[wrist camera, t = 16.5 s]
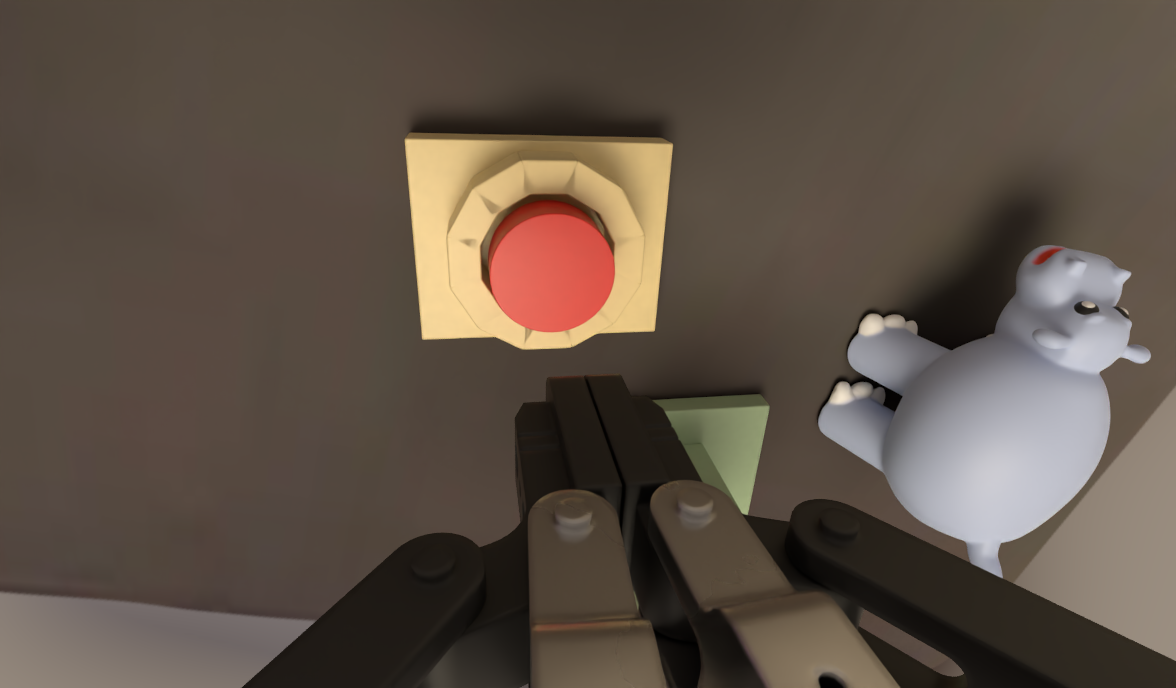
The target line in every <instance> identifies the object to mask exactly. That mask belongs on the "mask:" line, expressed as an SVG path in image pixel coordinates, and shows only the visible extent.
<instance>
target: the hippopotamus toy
mask: <svg viewBox="0 0 1176 688" xmlns="http://www.w3.org/2000/svg"><path fill="white" fill-rule="evenodd" d="M1130 275H1131V272H1130V271H1127V270H1123V269H1120V268H1118V267H1117V266H1116V265H1115V264H1114V263H1113V262H1112V261H1111V260H1110V259H1108V258H1107V257H1104V256H1100V255H1097V254H1093V253H1089V252H1085V251H1079V250H1073V249H1068V248H1065V247H1061V246H1054V245H1045V246H1040V247H1038V248H1036V249H1034V250H1033V251H1031V252H1030V253H1029V254H1028V255H1027V256H1026V257H1025V258H1024V259H1023V261H1022V262H1021V264H1020V266H1019V268H1018V271H1017V276H1016V293H1015V295H1014V296H1013V297H1012V299H1011V300H1010V301H1009V302H1008V303H1007V305H1006V306H1005V308H1004V309H1003V311H1002V312H1001V314H1000V316H999V318H998V321H997V323H996V328H995V332H994V334H990V335H988V336H986V337H985V338H981V339H978V340H975V341H972V342H969V343H966V344H964V345H962V346H960V347H957V348H955V349H953V350H952V351H951V350H948V349H946V348H944V347H942V346H940V345H937V344H935V343H933V342H931V341H929V340H926V339H924V338H922V337H920V336H918V335H917V331H918V327H917V324H916V322H915V321H907V322H905V319H904V318H903V317H902V316H900V315H889V316H886V317H884V318H882V317H881V316H880V315H878V314H869V315H867V316H866V317H865V318H864V319H863V320H862V322H861V323H860V326H859V332H858V334H857V335H856V336H855V337H854V338H853V340H852V341H851V343H850V345H849V348H848V354H847V355H848V361H849V363H850V365H851V366H852V368H853V369H855V370H856V371H857V372H859V373H861V374H862V375H864V376H866V377H868V378H870V379H872V380H874V381H876V382H878V383H879V384H881V385H883V386H885V387H887V388H889V389H891V390H893V391H894V392H896V393H898V394H900V395H902V396H903V397H902V399H901V401H900V403H899V405H898V407H897V409H896V411H895V412H894V411H892V410H890V409H889V408H887V407H885V406H883V403H884V401H885V390H884V389H883V388H882V387H877V388H875V389H873V386H872V385H871V384H870V383H868V382H858V383H855V384H854V385H852V386H851V387H850V385H849V383H847V382H839V383H837V384H836V386H835V388H834V390H833V392H832V394H831V396H830V399H829V401H828V402H827V403H826V405H825V406H824V407H823V409H822V410H821V413H820V415H819V419H818V425H819V428H820V430H821V432H822V433H823V434H824V435H826V436H827V437H828V438H830V439H832V440H833V441H835V442H836V443H838V444H840V445H841V446H843V447H844V448H846V449H847V450H849V451H851V452H852V453H854V454H855V455H857V456H858V457H860V458H862V459H863V460H865V461H866V462H868V463H869V464H871V465H873V466H874V467H876V468H877V469H879V470H880V471H882V472H883V473H884V474H885V476H886V478H887V480H888V483H889V485H890V487H891V489H892V491H893V493H894V494H895V496H896V498H897V499H898V500H899V502H900V503H901V504H902V505H903V506H904V508H905V509H906V510H907V511H908V512H910V513H911V514H912V515H913V516H914V517H916V518H917V519H918V520H920V521H921V522H923V523H924V524H926V525H928V526H930V527H932V528H934V529H936V530H938V531H940V532H942V533H945V534H947V535H950V536H952V537H955V538H958V539H960V540H963V541H965V542H966V544H967V550H968V556H969V559H970V562H971V564H973V565H976V566H978V567H980V568H982V569H984V570H986V571H988V572H990V573H992V574H994V575H996V576H999V577H1001V578H1003V577H1002V571H1001V566H1000V563H999V559H998V549H999V546H1000V544H1001V543H1003V542H1008V541H1012V540H1015V539H1017V538H1020V537H1022V536H1024V535H1026V534H1027V533H1029V532H1031V531H1032V530H1034V529H1035V528H1037V527H1038V526H1040V525H1041V524H1043V523H1044V522H1045V521H1047V520H1048V519H1049V518H1051V517H1052V516H1053V515H1054V514H1055V513H1057V512H1058V511H1059V510H1060V509H1061V508H1063V507H1064V506H1065V505H1066V504H1067V503H1068V502H1069V501H1070V500H1071V499H1072V498H1073V497H1074V496H1075V495H1076V494H1077V493H1078V492H1079V491H1080V489H1081V488H1082V487H1083V486H1084V484H1085V483H1086V482H1087V481H1088V479H1089V478H1090V476H1091V475H1092V473H1093V472H1094V470H1095V468H1096V466H1097V465H1098V463H1099V461H1100V459H1101V456H1102V454H1103V451H1104V449H1105V446H1106V442H1107V438H1108V434H1109V427H1110V403H1109V397H1108V392H1107V389H1106V386H1105V383H1104V381H1103V379H1102V378H1101V376H1100V374H1099V372H1100V371H1102V370H1103V369H1105V368H1107V367H1108V366H1110V365H1111V364H1112V363H1113V362H1115V361H1116V360H1117V359H1118V358H1119V357H1123V358H1127V359H1129V360H1131V361H1133V362H1135V363H1145V362H1147V361H1149V359H1150V357H1151V354H1150V351H1149V350H1148V349H1147V348H1145V347H1143V346H1141V345H1130V346H1127V343H1128V340H1129V334H1130V329H1131V326H1132V323H1131V321H1130V320H1129V315H1128V311H1127V310H1126V309H1124V308H1121V307H1115V305H1116V304H1117V302H1118V300H1119V298H1120V296H1121V293H1122V286H1123V283H1124V282H1125V281H1126V280H1127V279H1128V278H1129V277H1130Z"/></svg>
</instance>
